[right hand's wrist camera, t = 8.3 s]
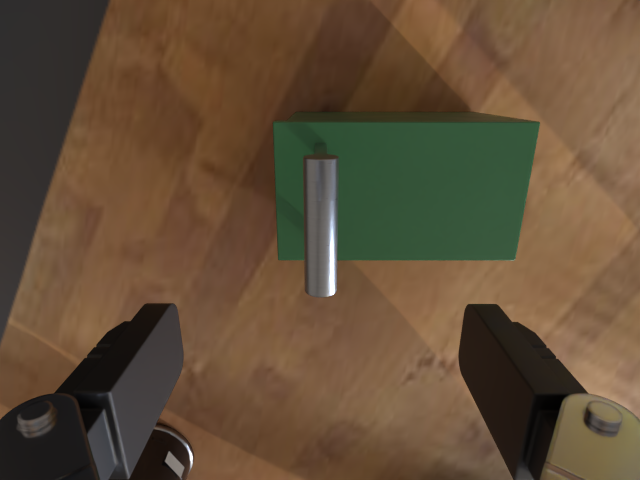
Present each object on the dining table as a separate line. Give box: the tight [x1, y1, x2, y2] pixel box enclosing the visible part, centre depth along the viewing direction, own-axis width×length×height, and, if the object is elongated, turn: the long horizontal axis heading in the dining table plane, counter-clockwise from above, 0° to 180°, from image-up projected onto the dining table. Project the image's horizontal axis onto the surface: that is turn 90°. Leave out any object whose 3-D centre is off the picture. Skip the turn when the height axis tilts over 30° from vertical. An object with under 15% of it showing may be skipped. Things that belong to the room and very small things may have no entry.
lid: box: [273, 120, 540, 297], centre depth 23 cm, size 16×9×8 cm, turn 90°
